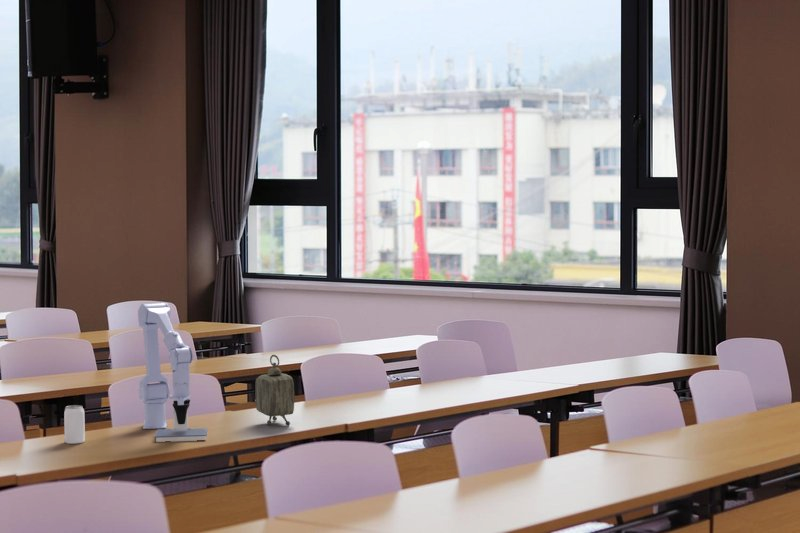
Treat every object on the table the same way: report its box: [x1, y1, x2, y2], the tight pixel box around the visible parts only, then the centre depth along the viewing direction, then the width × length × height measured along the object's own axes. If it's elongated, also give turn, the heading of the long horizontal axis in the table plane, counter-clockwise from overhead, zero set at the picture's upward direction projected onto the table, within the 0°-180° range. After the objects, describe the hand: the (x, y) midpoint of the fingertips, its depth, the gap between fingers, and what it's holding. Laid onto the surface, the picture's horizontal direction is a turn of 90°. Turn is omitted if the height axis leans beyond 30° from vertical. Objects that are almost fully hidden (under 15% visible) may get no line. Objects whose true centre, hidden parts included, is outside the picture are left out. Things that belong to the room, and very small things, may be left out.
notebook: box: [154, 427, 208, 443], centre depth 398 cm, size 12×17×2 cm
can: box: [63, 404, 86, 445], centre depth 390 cm, size 6×6×12 cm
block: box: [173, 408, 189, 429], centre depth 397 cm, size 4×4×6 cm
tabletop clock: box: [254, 354, 295, 427], centre depth 420 cm, size 14×9×25 cm, turn 32°
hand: (181, 422), depth 398 cm, fingers closed on block, 4 cm apart
